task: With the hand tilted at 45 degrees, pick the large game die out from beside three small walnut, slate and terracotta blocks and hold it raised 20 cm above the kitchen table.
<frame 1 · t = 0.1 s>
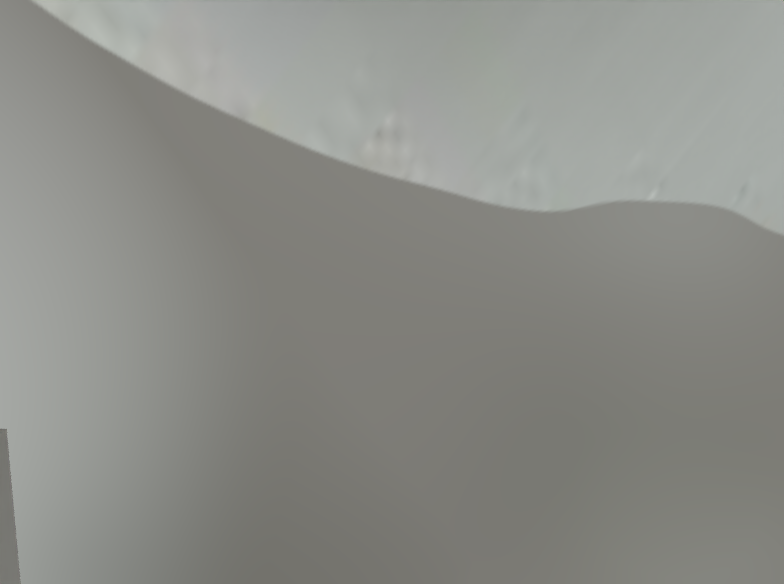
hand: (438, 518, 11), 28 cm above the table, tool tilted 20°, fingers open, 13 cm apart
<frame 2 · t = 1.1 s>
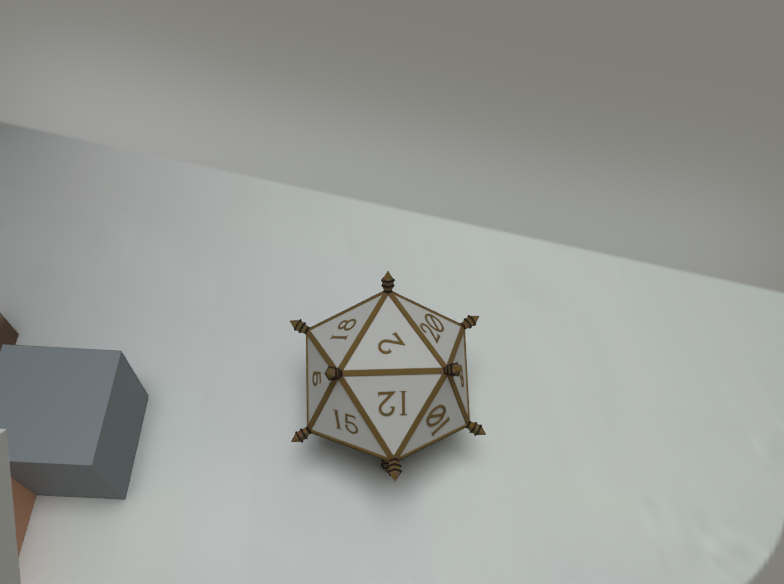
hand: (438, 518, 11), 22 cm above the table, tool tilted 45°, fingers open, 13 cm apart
game die: (383, 412, 35), on the table
slate block: (84, 443, 34), on the table
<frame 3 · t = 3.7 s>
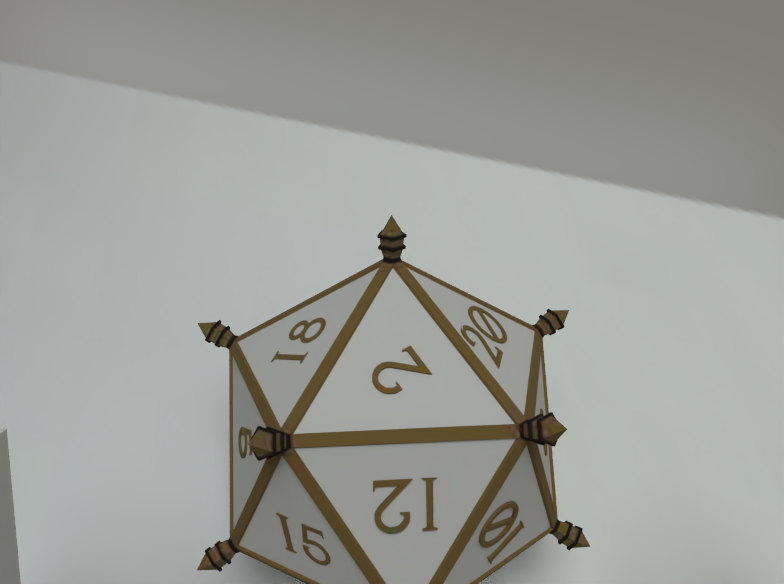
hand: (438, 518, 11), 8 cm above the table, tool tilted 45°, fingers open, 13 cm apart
game die: (384, 488, 20), on the table
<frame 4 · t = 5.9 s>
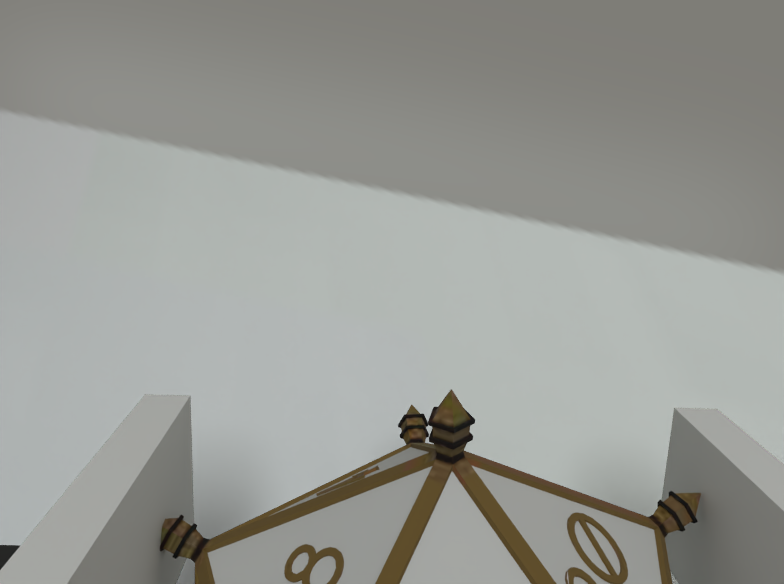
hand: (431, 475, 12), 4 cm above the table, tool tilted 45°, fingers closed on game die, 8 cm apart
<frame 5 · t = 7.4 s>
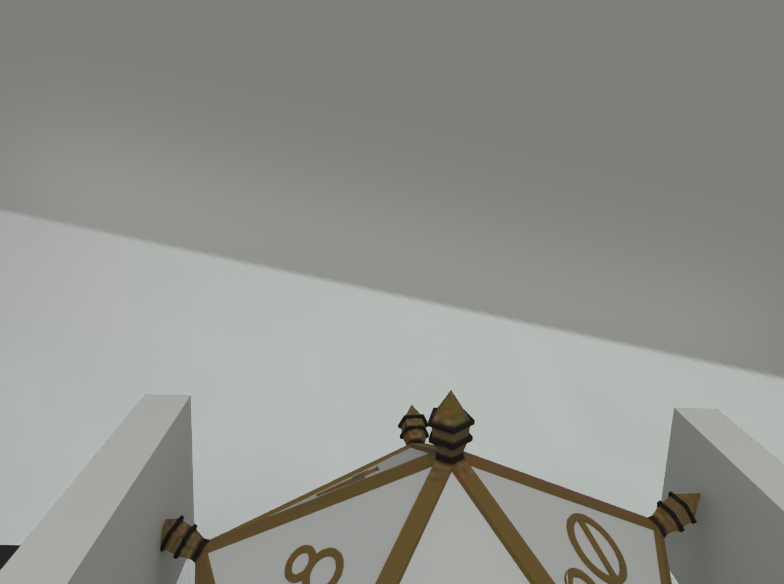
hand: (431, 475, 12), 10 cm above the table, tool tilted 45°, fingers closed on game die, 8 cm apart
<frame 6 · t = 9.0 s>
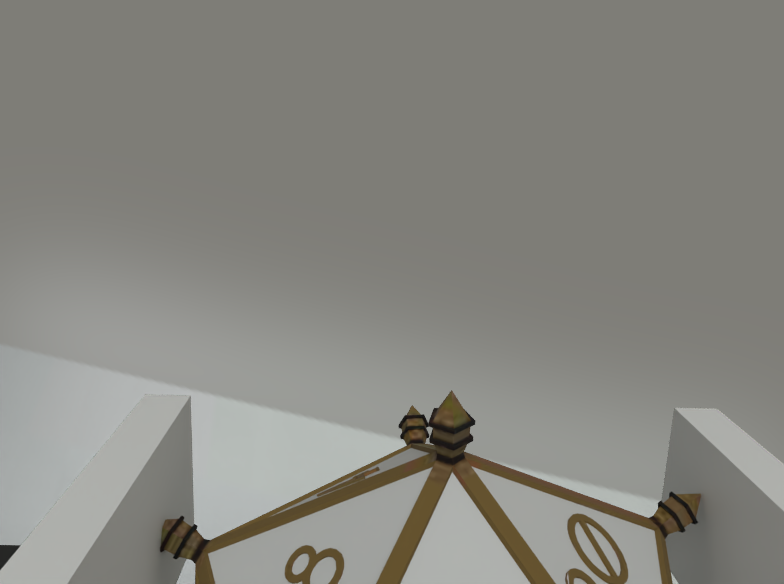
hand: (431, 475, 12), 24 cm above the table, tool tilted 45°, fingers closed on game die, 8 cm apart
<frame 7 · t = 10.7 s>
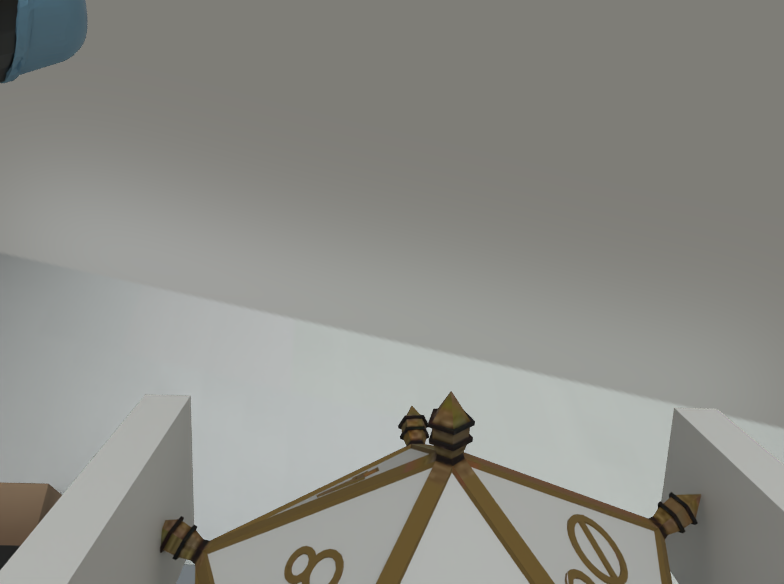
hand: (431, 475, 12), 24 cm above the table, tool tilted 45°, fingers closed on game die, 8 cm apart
walnut block: (18, 567, 33), on the table
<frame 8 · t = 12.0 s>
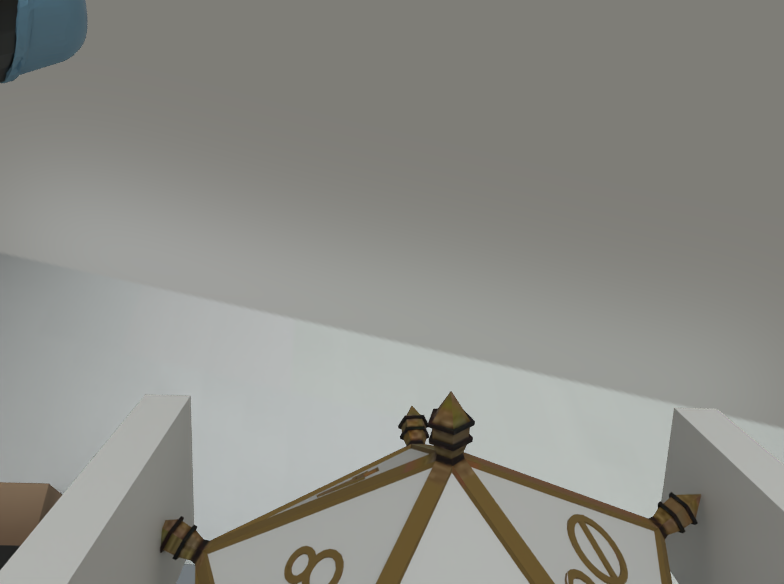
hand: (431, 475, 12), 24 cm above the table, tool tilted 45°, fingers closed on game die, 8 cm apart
walnut block: (18, 567, 33), on the table
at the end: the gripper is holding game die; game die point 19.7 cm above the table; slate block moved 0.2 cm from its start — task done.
